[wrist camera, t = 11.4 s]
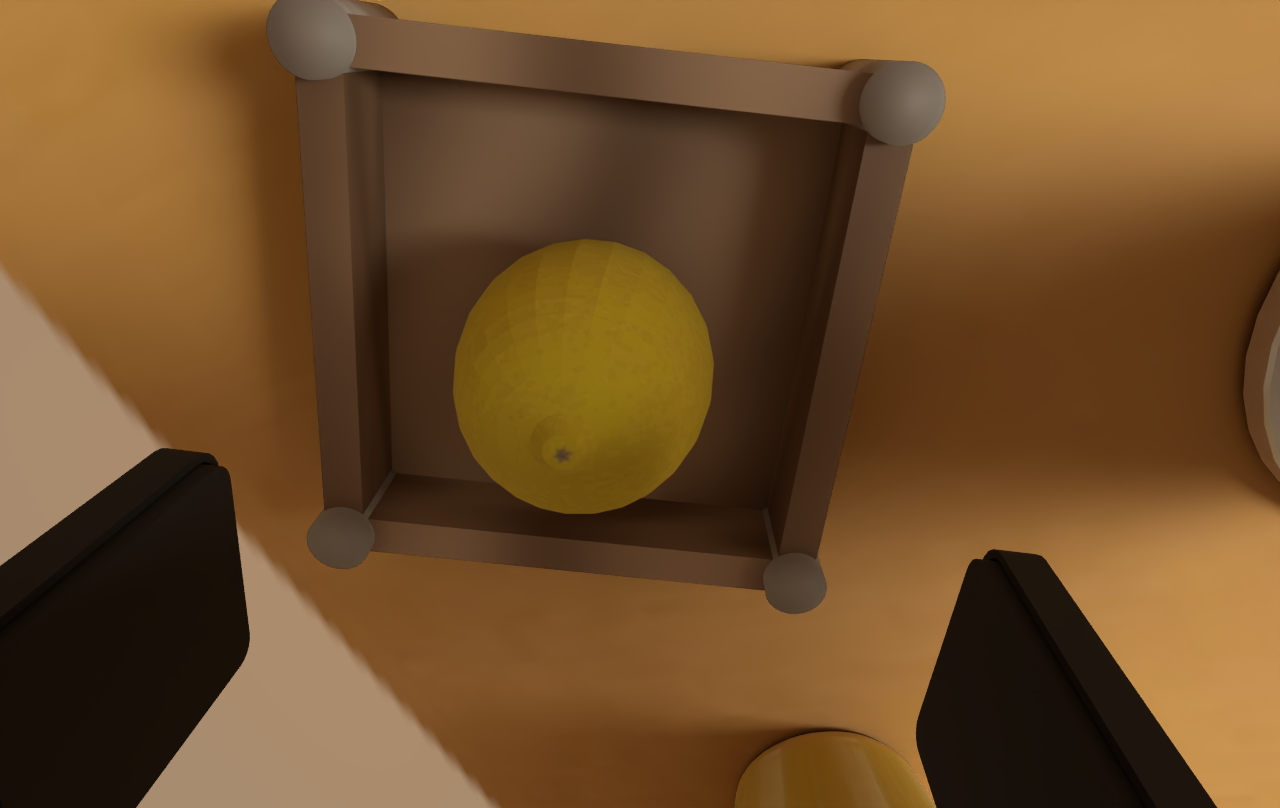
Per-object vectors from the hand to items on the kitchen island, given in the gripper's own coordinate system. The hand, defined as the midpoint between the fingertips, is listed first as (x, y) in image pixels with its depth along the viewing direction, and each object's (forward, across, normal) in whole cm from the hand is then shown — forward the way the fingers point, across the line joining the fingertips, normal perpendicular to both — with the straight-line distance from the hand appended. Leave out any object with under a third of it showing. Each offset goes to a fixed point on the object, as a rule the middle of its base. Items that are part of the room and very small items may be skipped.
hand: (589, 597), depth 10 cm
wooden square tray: (+13, +1, 0) cm, 13 cm away
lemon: (+12, +1, 0) cm, 12 cm away
